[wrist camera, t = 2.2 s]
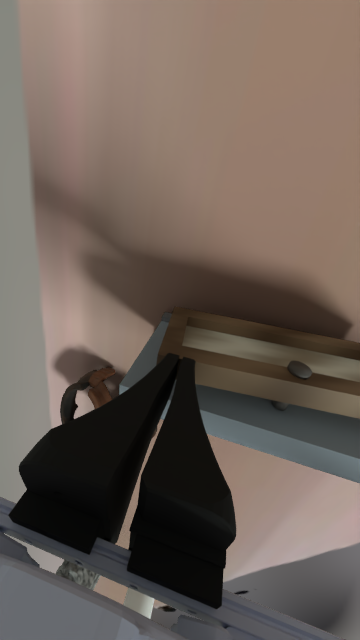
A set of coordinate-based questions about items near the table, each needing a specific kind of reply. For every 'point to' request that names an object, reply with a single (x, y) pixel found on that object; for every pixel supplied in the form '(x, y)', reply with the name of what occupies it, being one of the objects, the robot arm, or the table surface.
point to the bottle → (139, 602)
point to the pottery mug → (96, 394)
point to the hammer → (78, 574)
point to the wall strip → (266, 421)
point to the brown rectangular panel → (267, 361)
